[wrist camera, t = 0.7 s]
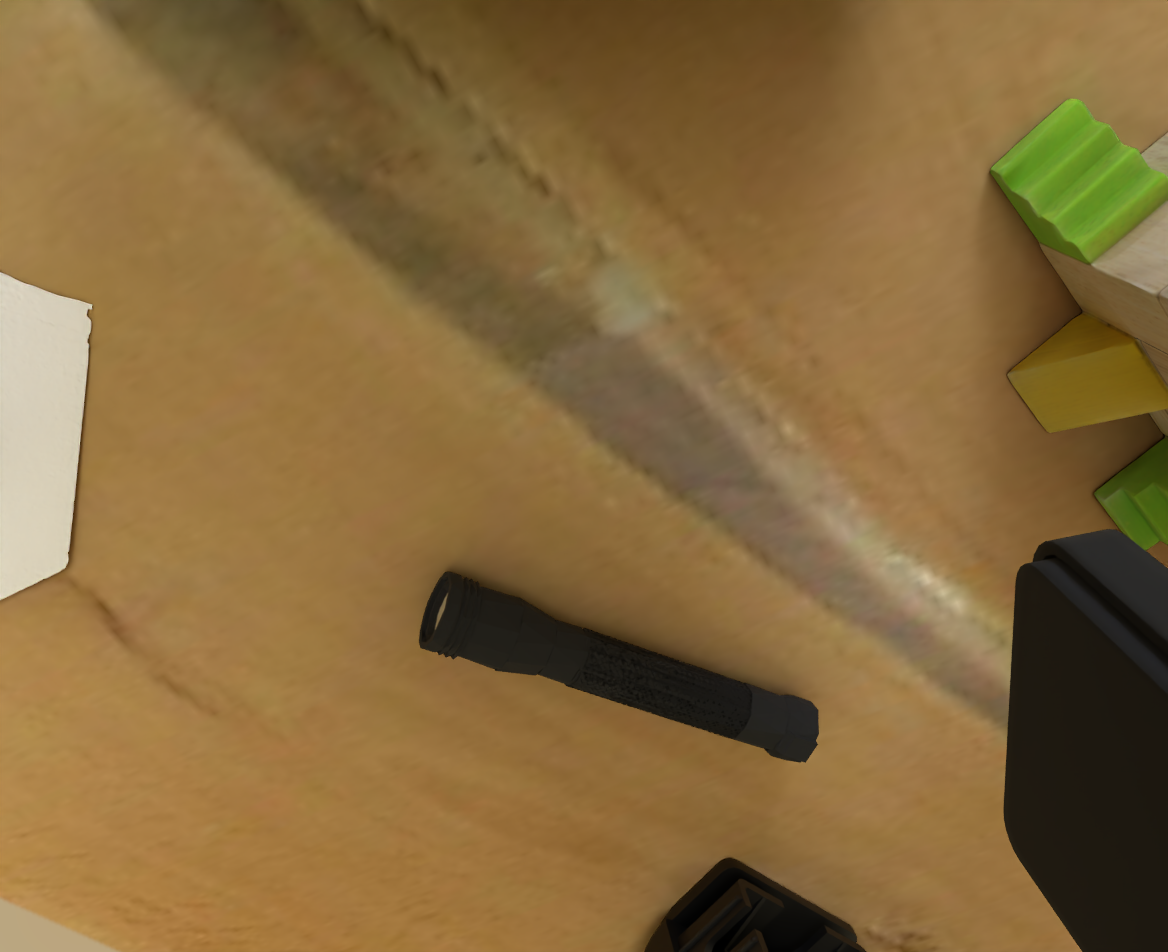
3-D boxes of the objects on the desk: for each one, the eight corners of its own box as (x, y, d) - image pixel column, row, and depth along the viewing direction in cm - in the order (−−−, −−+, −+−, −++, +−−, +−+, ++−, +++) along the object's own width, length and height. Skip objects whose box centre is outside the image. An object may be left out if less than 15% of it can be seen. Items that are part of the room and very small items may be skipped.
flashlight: (449, 556, 42) (453, 598, 39) (806, 682, 47) (831, 727, 44) (417, 620, 43) (419, 665, 40) (771, 736, 48) (793, 783, 45)
